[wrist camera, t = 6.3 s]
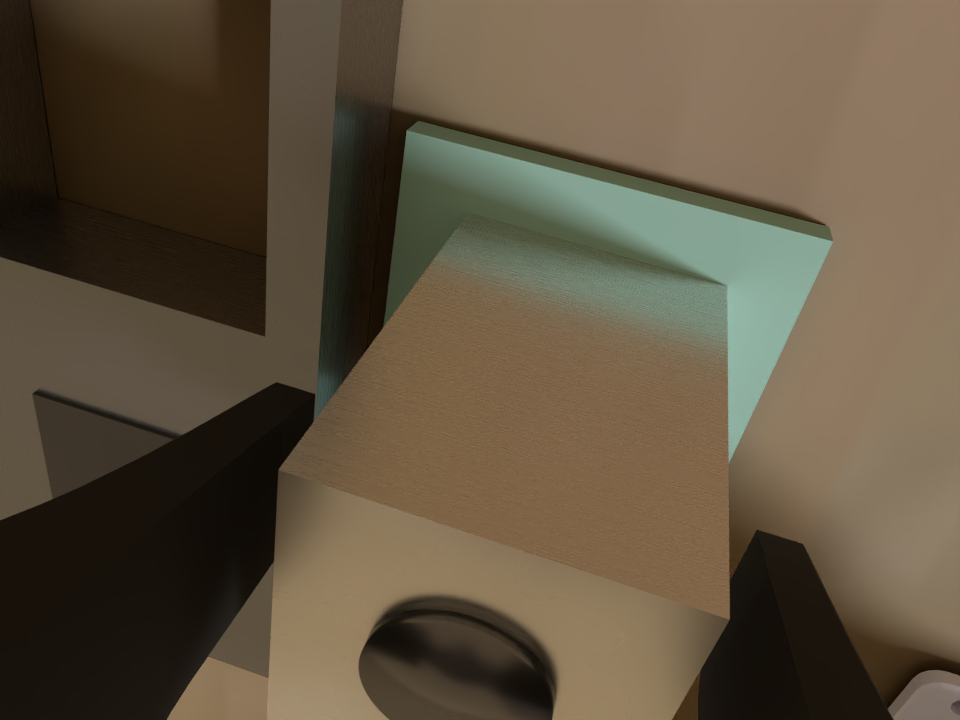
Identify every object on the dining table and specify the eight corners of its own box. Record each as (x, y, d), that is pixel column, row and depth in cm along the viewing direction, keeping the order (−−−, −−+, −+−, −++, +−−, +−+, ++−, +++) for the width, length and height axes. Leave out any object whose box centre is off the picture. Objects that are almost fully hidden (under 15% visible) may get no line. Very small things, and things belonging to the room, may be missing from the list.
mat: (828, 226, 13) (832, 241, 12) (690, 527, 17) (689, 547, 16) (418, 120, 13) (406, 130, 13) (379, 430, 17) (369, 447, 17)
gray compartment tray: (444, -398, 10) (367, -470, 8) (339, 608, 21) (295, 692, 19) (-105, -493, 11) (-308, -580, 9) (73, 518, 22) (4, 587, 20)
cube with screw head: (727, 285, 13) (729, 637, 7) (645, 481, 15) (598, 860, 10) (468, 212, 13) (269, 483, 8) (430, 414, 16) (259, 733, 10)
